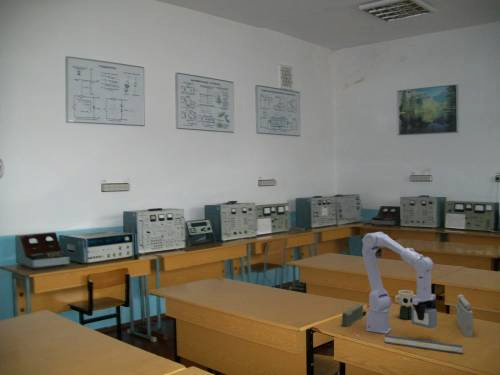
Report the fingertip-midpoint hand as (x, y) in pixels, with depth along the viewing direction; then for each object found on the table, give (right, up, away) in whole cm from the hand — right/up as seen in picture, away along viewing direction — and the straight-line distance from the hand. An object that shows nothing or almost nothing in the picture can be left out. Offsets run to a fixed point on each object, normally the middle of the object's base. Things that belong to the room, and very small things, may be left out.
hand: (424, 318), depth 219 cm
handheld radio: (-22, -9, +32) cm, 40 cm away
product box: (0, -3, 0) cm, 3 cm away
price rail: (-3, -10, -8) cm, 13 cm away
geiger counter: (+23, -9, +18) cm, 30 cm away
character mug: (+3, -9, +34) cm, 36 cm away
